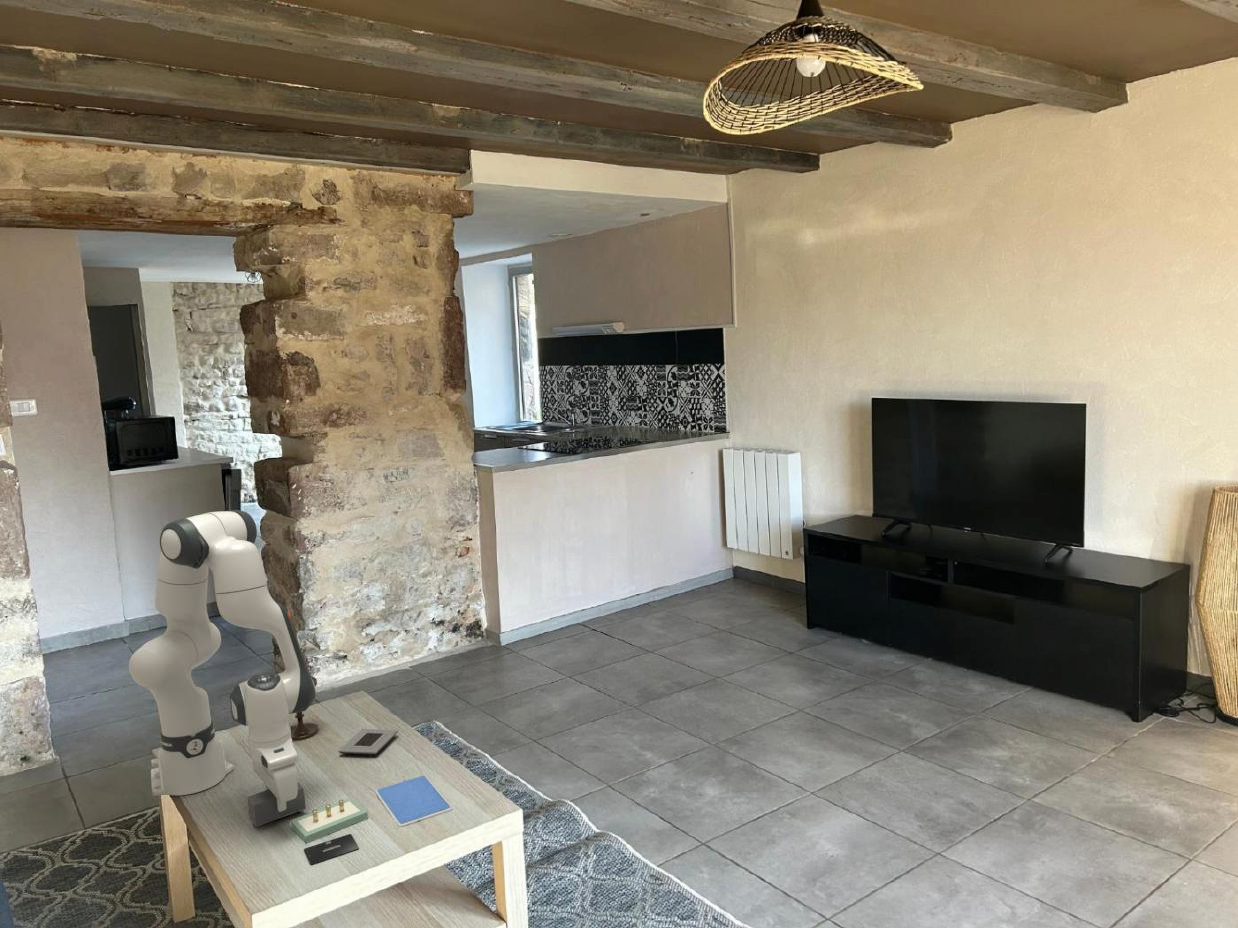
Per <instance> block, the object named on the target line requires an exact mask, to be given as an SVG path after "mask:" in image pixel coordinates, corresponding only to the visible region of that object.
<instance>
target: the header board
mask: <svg viewBox="0 0 1238 928" xmlns="http://www.w3.org/2000/svg"><path fill="white" fill-rule="evenodd" d="M368 815H369V814H368V811H367V810H366V809H365V808H363V807H362V806H361V805H360V804H359V803H358V802H357V801H355V799H353V798H352V797H349V798H346V799H339V800H338V802H335V803H333V804H326V805H325V807H322V808H320V809H318V810H317V809H314V810H312V812H310V813H307V814H304V815H301V816H299V817H297V818H294V819H291V820H290V827H291V829H292V830H294V831H295V832H296V833H297V835H298V836H299V837H300V838H301V839H302V840H303V841H304V842H305V843H306V844H308V843H310V842H313V841H315V840H317V839H320V838H322V837H325V836H327V835H329V834H331V833H334V832H335V833H336V832H338V831H340V830H343V829H345V828H348V827H349V826H352V825H354V824H357V823H359V822H362V821H364V820H367V819H368V818H369V816H368Z"/></svg>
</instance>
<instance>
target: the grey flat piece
mask: <svg viewBox="0 0 1238 928" xmlns="http://www.w3.org/2000/svg"><path fill="white" fill-rule="evenodd" d="M398 733H399V730H398V729H397V730H396V729H372V728H368V729H367V728H362V729H361V730H359V732H358V733H356V734H355V735H354V736H353V737H352V738H351V739H350V740H349V741H348V742H346V743H345V744H344V745H343V746H342V747H341V748H340V749H339V750H338V751H337V752H338V753H339V754H345V755H347V754H348V755H364V756H365V755H367V756H368V755H369V756H370V755H371V756H376V755H377V754H378V753H379V752H380V751H381V750H382V749H383V748H384V747H385V746H386V745H387V744H388V743H389V742H390V741H391V740H392V739H393V738H394V737H395V736H396V735H397V734H398Z"/></svg>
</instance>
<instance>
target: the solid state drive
mask: <svg viewBox="0 0 1238 928" xmlns="http://www.w3.org/2000/svg"><path fill="white" fill-rule="evenodd" d="M358 850H360V846H359V845H358V844H357V841H356V839H355V838H354V836H353V835H352V834H351V833H349V834H345V835H342V836H339V837H336V838H334V839H333V838H332V839H330V840H327V841H324V842H321V843H317V844H314V845H311V846H308V847H305V848H303V852H304V854H305V857H306V859H307V861H308V863H309V865H310V866H315V865H318V864H321V863H324V862H327V861H330V860H332V859H336V858H337V857H341V856H344V855H347V854H350V853H354V852H357V851H358Z"/></svg>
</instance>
